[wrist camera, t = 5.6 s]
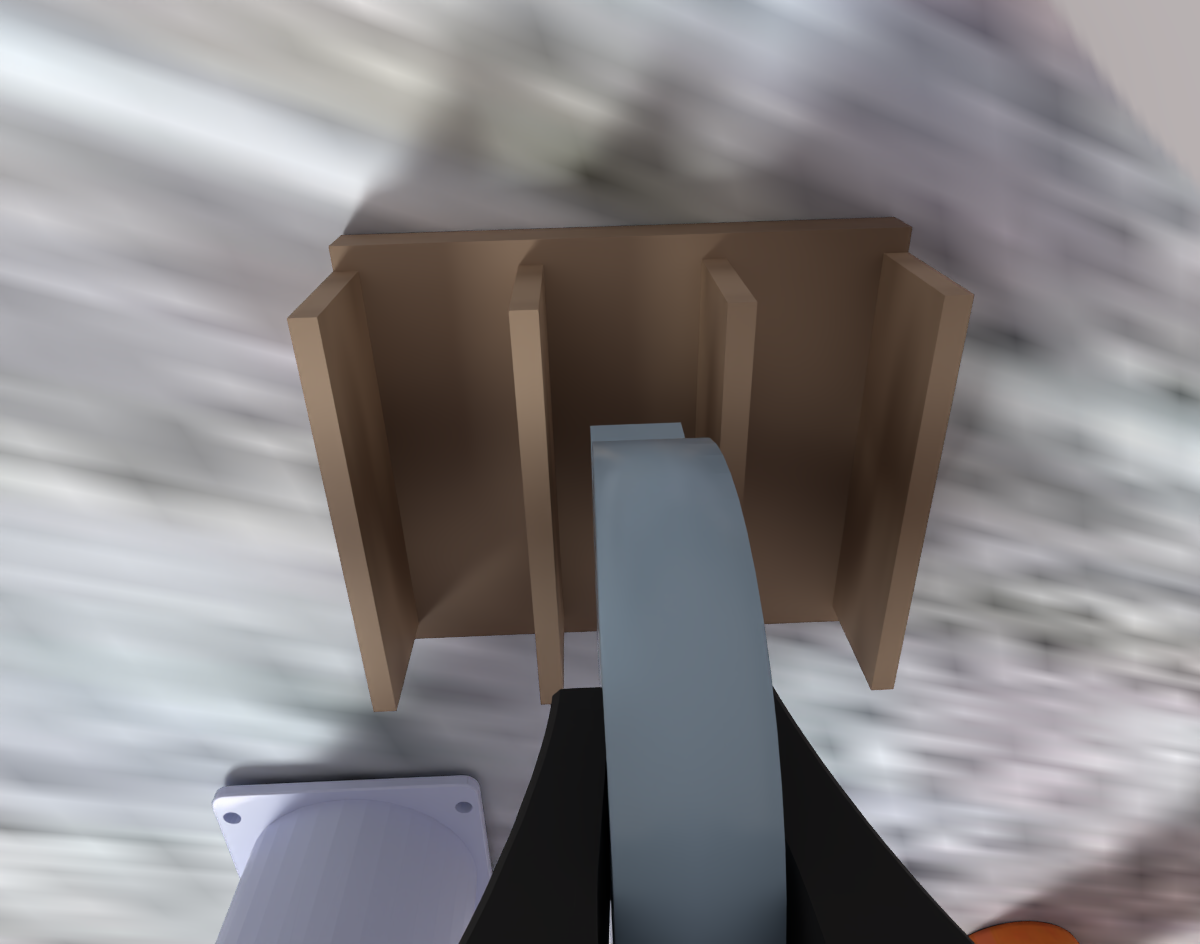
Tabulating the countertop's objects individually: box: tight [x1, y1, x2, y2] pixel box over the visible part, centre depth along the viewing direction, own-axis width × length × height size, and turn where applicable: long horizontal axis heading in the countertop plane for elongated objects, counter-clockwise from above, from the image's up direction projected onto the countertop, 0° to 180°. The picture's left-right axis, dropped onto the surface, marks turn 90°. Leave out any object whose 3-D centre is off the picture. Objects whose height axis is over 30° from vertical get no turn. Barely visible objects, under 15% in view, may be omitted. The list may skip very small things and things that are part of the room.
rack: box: [287, 217, 974, 712], centre depth 17 cm, size 10×12×4 cm
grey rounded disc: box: [590, 422, 787, 944], centre depth 12 cm, size 8×2×8 cm, turn 1°
